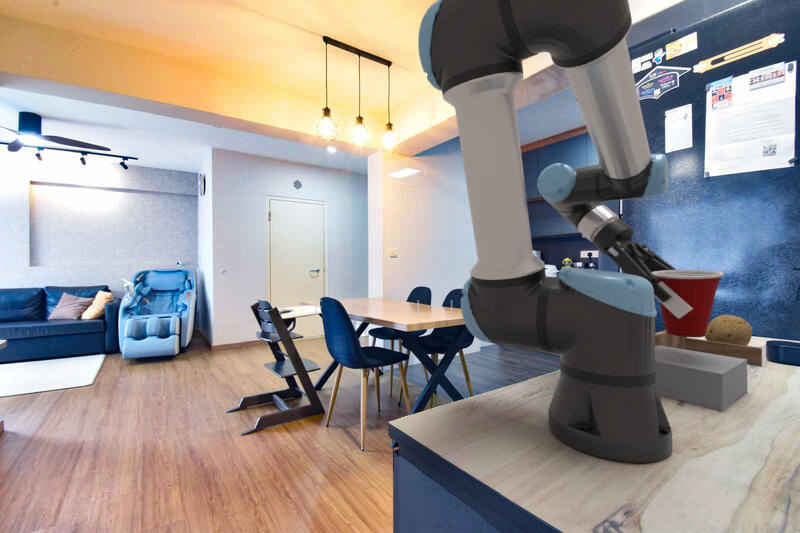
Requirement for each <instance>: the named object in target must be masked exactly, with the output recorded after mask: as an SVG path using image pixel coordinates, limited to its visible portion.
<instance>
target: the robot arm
mask: <svg viewBox="0 0 800 533" xmlns="http://www.w3.org/2000/svg"><path fill="white" fill-rule="evenodd" d="M632 24H633V20H632V15H631V9H630V3H629V0H436V1H435V2H433V3H432V4H431V5H430V6H429V7H428V8H427V10H426V12H425V13H424V15H423V17H422V19H421V21H420V26H419V30H418V40H417V41H418V42H417V43H418V54H419V55H418V56H419V60H420V65H421V68H422V71H423V73H425V74H427V76H426V79H427V80H428V81H427V82H429V83H430V85H431V86H432V87H433V88H435V89H436V90H437V91H441V93H442V99H443V100H444V101H445V102H446V103H447V104H449V105H451V106H452V107H453V108H454V110H455V111H454V112H455V118H456V124H457V131H458V137H459V144H460V150H461V157H462V164H463V170H464V176H465V177H464V178H465V184H466V190H467V191H466V192H467V196H468V203H469V210H470V217H471V222H472V229H473V236H474V243H475V250H476V255H477V256H476V257H477V261H476V262H475V265H473V267H472V268H471V269H470V277H469V278H468V279H467V280H466V281H465V283H464V285H463V288H462V290H461V293H462V297H461V298H460V310H461V314H462V319H463V320H464V324H465V326H466V328H467V329H468V331H469V333H470V334H471V335H472V336H473V337H475V338H476V339H477V340H479V341H481V342H484V343H490V344H494V345H496V346H499V347H512V348H518V349H525V350H530V351H531V350H532V351H539V352H545V353H551V354H552V353H553V354H557V355H559V359H560V375H559V379H558V380H557V383H556V386H555V390H554V392H553V396H552V399H551V401H550V404H549V407H548V411H547V412H548V414H547V416H548V418H547V420H548V423H547V425H548V426H547V427H548V428H549V430H550V432H551V434H552V435H553V436H555V437H556V438H557V439H558V440H559V441H561V442H563V443H564V444H566V445H568V446H569V447H571V448H574V449H575V450H578V451H580V452H583V453H585V454H589V455H592V456H596V457H599V458H603V459H607V460H611V461H618V462H619V461H620V462H625V463H626V462H628V463H650V462H656V461H662V460H663V459H666V458H667V457H669V456H670V455H671V454H672V453H673V446H674V445H673V431H672V427H671V424H670V422H669V419H668V417H667V414H666V411H665V408H664V406H663V404H662V400H661V398H660V397H661V396H660V395H658V392H657V389H656V382H655V333H656V317H657V315H658V311H657V310H656V302H655V299H657V300H658V302H659V303H660V302H661V303H662V304H663V305H664V306H665V307H666V308H667V309H668V310H669V311H670V312H672V313H673V314H674V315H675V316H676V317H677V318H678V319H679V318H681V317H682V316H684V315H685V314H687V313H688V312H689V311H691V310H692V309H693V308H692V307H690V306H689V305H688V304H687V303H686V302H685V301H684V300H683V299H681V298H680V297H679V296H678V295H677V294H676V293H675V292H674V291H672V290H671V289H670V288H669V287H668V286H667V285H666V284H665V283H663V282H659V281H658V280H657V279H656V277H655V276H654V275H653V273H652V272H655V271H664V270H677V269H676V268H675V267H674V266H673V265H671V264H670V263H668V262H667V261H666V260H665V259H663V258H662V257H661V256H659V255H657V254H656V253H655V252H653V251H652V250H651V249H650V248H649V247H648V246H647V245H646V244H640V243H638V242H634V241H632V237H633V236H634V234H635V231H634V228H633V227H631V226H630V225H629V224H628V223H627V222H626V221H624V219H620V217H619V216H618V215H617V214H616V213H615V212H614V211H613V210H611V209H610V208H608V206H607V205H605V204H603V203H604V202H614V201H623V200H633V199H644V198H651V197H656V196H660V195H663V194H664V193H666V192H667V191H668V188H669V179H670V178H669V175H670V174H669V162H668V157H667V156H666V154H665V153H657V154H656V153H655V154H654V153H651V150H650V145H649V141H648V137H647V136H648V135H647V131H646V126H645V122H644V119H643V113H642V108H641V104H640V100H639V94H638V90H637V85H636V80H635V76H634V72H633V67H632V62H631V58H630V53H629V48H628V43H627V36H628V35H629V33H630V31H631V29H632V26H633V25H632ZM540 53H548V54H549V55H550V57H551V61H552V63H553V65H554V66H555V67H556V68H558V69H562V70H565V73H566V76H567V78H568V81H569V84H570V86H571V89H572V91H573V94H574V96H575V99H576V102H577V104H578V107H579V110H580V113H581V115H582V118H583V121H584V123H585V125H586V128H587V131H588V134H589V135H590V136H589V137H590V139H591V142H592V144H593V147H594V150H595V153H596V155H597V156H598V157H597V158H598V161H599V162H600V164H594V165H588V166H580V167H575V168H572V167H571V166H570V165H568V164H566V163H561V162H556V163H553V164H550V165H548V166H546V167H545V168H544V169H543V170H542V171H541V172H540V174H539V176H538V178H537V184H536V185H537V189H538V193H540V195H542V198H543V200H545V201H546V202H547V203H548V204H550V206H552V208H554V210H555V211H556V212H558V214H559V213H560V215H561V216H562V217H564V219H566V221H567V222H569V223H570V224H571V225H572V226H574V227H575V229H576V230H577V231H579V233H581V234H582V235H581V237H582V238H583V239H585V238H586V239H587V240H588V241H589V242H591V243H592V245H593V246H594V247H595V248H596V249H597V250H598V251H599V252H601V253H602V254H603V255H607V256H608V257H609V258H610V259H612V260H613V261H614V262H615V264H616V265H617V266H618V267H619V268H620V270H622V272H616V271H609V270H602V269H592V268H591V269H590V268H580V267H561V269H560V270H559V272H558V274H557V276H547V274H546V266H545V261H544V260H542V259H540V258H539V257H538V256H536V255H535V254H534V253H533V252H534V251H533V244H532V243H533V242H532V235H531V226H530V218H529V210H528V209H529V208H528V202H527V191H526V183H525V175H524V166H523V165H524V164H523V160H522V151H521V150H522V149H521V141H520V133H519V126H518V125H519V124H518V115H517V107H516V106H517V105H516V101H515V100H516V97H515V93H516V91H517V89H518V87H519V86H520V84H522V81H523V80H524V69H523V61H525V60H528V59H529V58H532V57H535V56H537V55H539V54H540ZM658 282H659V283H658ZM657 283H658V284H657Z"/></svg>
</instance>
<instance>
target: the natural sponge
mask: <svg viewBox="0 0 800 533" xmlns="http://www.w3.org/2000/svg"><path fill="white" fill-rule="evenodd" d="M752 336H753V327H752V326H751V324H750V323H749V322H748V321H746V320H745V319H743V318H742V317H739V316H736V315H732V314H721V315H718V316H716V317H715V318H713V319H712V320H711V321H709V322H708V326H707V331H706V333H705V336H704V339H705V340H708V341H715V342H723V343H730V344H737V345H745V346H749V343H750V342H751V340H752Z"/></svg>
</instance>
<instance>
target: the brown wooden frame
mask: <svg viewBox="0 0 800 533" xmlns="http://www.w3.org/2000/svg"><path fill="white" fill-rule="evenodd" d="M658 345H659V346H665V347H672V348H678V349H684V350H691V351H697V352H703V353H709V354H716V355H722V356H728V357H734V358H741V359H747V365H751V366H754V367H755V366H756V367H762V366H763V348H762V347H759V346H751V345H747V346H745V345H737V344H730V343H723V342H715V341H708V340H706V339H701V338H700V339H699V338H694V337H682V336H675V335H671V334H668V333H667V331H666V329H664V330H661V331H658V332H655V346H658Z"/></svg>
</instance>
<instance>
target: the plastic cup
mask: <svg viewBox="0 0 800 533" xmlns="http://www.w3.org/2000/svg"><path fill="white" fill-rule="evenodd" d="M652 273H653V275H654V276H655V277H656V279H657V280H658V281H659V282H663V283H665V284H666V285H667V286H668V287H669V288H670V289H671V290H672V291H674V292H675V293H676V294H677V295H678V296H679V297H680V298H681V299H683V300H684V301H685V302H686V303H687V304H688V305H689V306H690V307H692V308H693V309H692V310H691V311H689V312H688V313H687V314H685V315H684V316H682V317H681V318H679V319H678V318H677V317H676V316H675V315H674V314H673V313H672V312H670V311H669V310H668V309H667V308H666V307H665V306H664V305H663V304H662V303H661V302H660V301H659V306H660V310H661V314H662V317H663V323H664V330H666V331H667V333H668V334H671V335H675V336H682V337H687V338H703V337H704V338H705V333H706V331H707V326H708V325H709V323H710V319H711V314H712V310H713V305H714V302H715V296H716V292H717V290H718V285H719V284H720V281H721V279H722V277H724V275H725V274H724V272H721V271H715V270H707V269H676V270H664V271H655V272H652ZM659 282H658V283H659ZM658 283H657V284H658Z"/></svg>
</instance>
